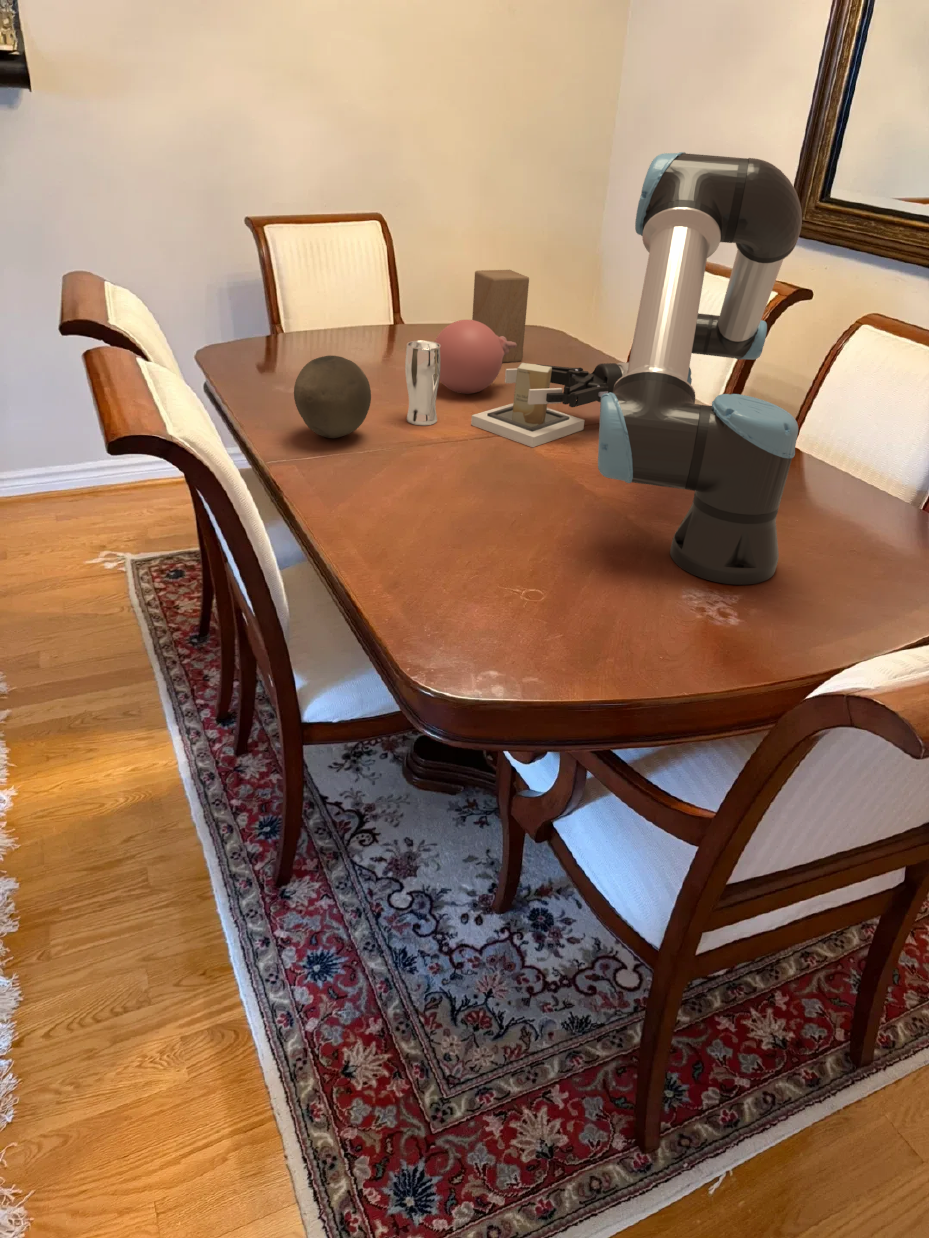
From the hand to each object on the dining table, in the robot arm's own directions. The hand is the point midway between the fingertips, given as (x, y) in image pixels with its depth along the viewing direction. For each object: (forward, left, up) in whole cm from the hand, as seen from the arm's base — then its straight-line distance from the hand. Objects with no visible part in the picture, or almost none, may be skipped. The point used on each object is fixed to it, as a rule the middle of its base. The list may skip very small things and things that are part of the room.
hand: (516, 386), depth 166 cm
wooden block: (+37, +38, -9) cm, 53 cm away
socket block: (+3, -2, -8) cm, 9 cm away
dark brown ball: (-31, +17, -9) cm, 37 cm away
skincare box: (+3, -2, -9) cm, 9 cm away
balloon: (+12, +21, -9) cm, 26 cm away
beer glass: (-11, +14, -9) cm, 20 cm away
